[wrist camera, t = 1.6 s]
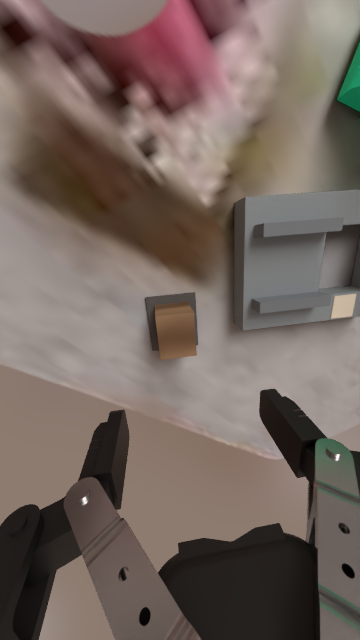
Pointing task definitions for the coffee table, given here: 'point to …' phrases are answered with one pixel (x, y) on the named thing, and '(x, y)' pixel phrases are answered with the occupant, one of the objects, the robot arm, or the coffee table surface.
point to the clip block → (175, 330)
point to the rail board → (290, 259)
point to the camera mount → (352, 84)
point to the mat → (167, 300)
